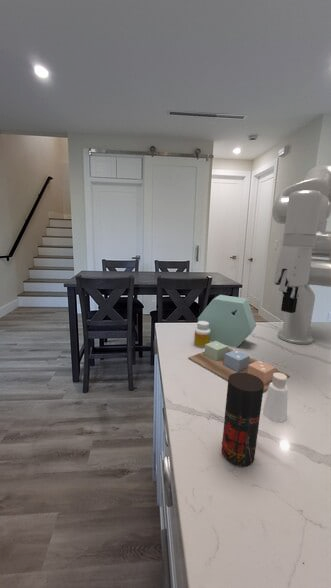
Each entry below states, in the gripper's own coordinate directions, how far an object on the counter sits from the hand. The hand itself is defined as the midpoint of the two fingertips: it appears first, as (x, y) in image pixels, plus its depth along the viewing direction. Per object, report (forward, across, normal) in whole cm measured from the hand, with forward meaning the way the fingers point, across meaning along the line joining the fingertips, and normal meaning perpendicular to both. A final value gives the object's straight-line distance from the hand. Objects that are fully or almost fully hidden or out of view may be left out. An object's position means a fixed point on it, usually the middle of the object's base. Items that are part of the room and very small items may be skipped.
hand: (288, 311), depth 72 cm
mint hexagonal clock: (+20, -6, -24) cm, 32 cm away
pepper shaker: (+21, +17, +8) cm, 28 cm away
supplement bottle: (+20, +4, -26) cm, 33 cm away
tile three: (+18, +7, -1) cm, 20 cm away
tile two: (+18, +7, -9) cm, 22 cm away
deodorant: (+21, +31, +9) cm, 39 cm away
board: (+20, +7, -9) cm, 23 cm away
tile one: (+18, +7, -17) cm, 26 cm away
